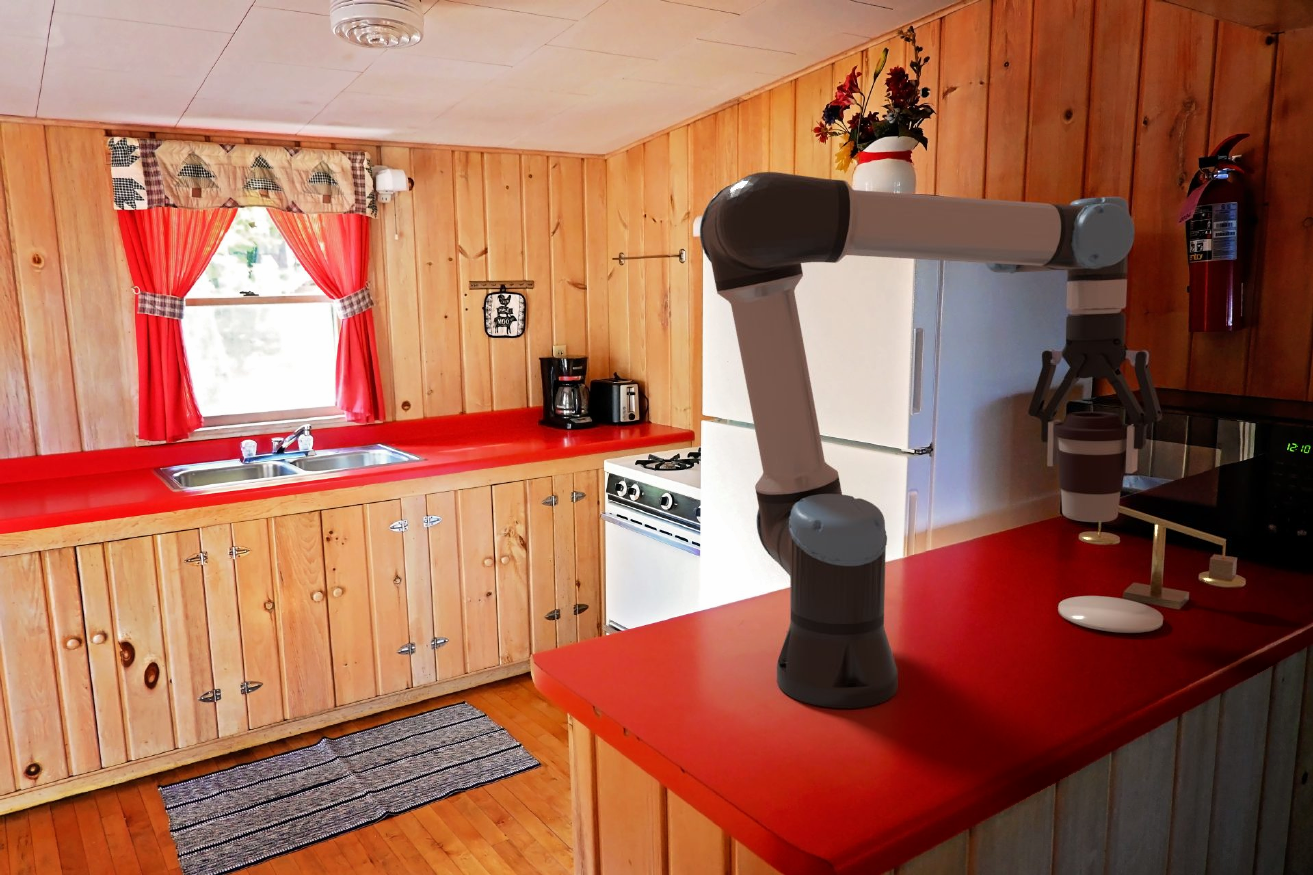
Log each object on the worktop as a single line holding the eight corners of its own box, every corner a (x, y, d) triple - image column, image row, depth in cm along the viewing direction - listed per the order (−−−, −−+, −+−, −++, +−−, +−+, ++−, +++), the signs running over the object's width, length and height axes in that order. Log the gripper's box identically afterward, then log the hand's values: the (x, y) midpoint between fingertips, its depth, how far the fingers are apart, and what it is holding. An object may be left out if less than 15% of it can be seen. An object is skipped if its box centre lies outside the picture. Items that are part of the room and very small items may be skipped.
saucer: (1148, 644, 126) (1148, 635, 126) (1044, 622, 135) (1045, 614, 135) (1173, 616, 137) (1173, 608, 136) (1075, 598, 146) (1075, 590, 146)
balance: (1238, 620, 134) (1246, 522, 132) (1071, 589, 150) (1075, 501, 148) (1246, 609, 139) (1253, 514, 136) (1083, 580, 154) (1087, 495, 152)
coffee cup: (1055, 524, 129) (1057, 419, 126) (1049, 507, 138) (1051, 409, 136) (1133, 526, 125) (1137, 419, 123) (1122, 510, 135) (1126, 409, 132)
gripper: (1193, 308, 122) (1186, 471, 126) (1024, 312, 137) (1022, 457, 141) (1179, 311, 117) (1172, 480, 120) (1005, 314, 132) (1003, 465, 135)
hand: (1091, 468), depth 130 cm, fingers closed on coffee cup, 10 cm apart
